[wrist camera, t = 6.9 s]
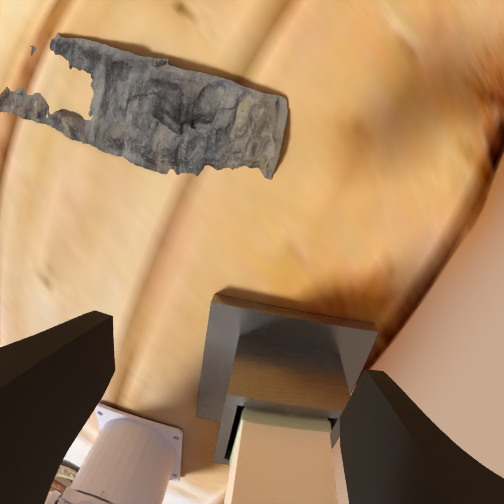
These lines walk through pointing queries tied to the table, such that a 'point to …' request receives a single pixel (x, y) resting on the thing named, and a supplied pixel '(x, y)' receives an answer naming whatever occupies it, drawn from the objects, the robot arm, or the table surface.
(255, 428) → the post
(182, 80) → the driftwood
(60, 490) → the decorative turtle
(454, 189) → the table surface
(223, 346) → the sleeve stand
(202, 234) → the table surface
